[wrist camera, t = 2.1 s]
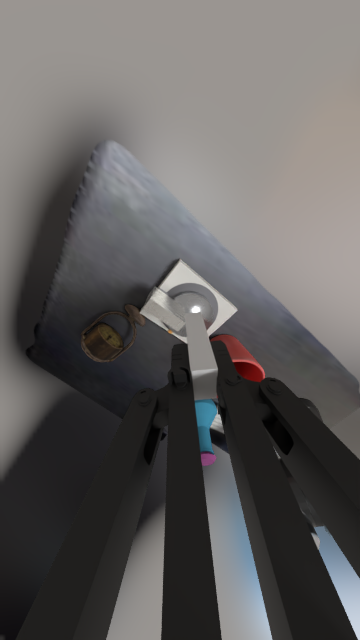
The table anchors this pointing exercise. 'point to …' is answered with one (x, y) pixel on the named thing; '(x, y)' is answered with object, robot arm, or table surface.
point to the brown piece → (109, 336)
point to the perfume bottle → (205, 428)
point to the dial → (178, 308)
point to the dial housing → (189, 280)
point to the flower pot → (242, 359)
